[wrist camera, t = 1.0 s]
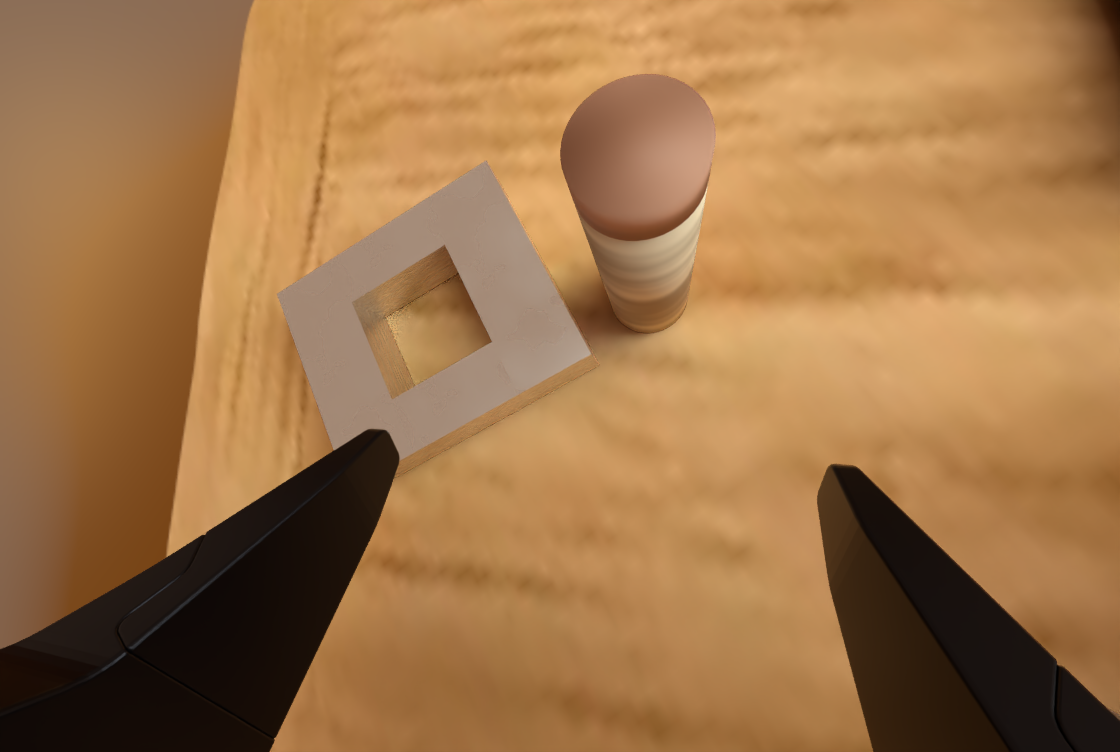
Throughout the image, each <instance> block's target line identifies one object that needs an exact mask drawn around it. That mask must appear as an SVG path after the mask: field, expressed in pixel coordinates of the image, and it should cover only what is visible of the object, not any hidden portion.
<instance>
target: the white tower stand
mask: <svg viewBox="0 0 1120 752" xmlns="http://www.w3.org/2000/svg"><path fill="white" fill-rule="evenodd" d="M1108 710H1109V709H1108ZM1109 711H1110V712H1111V713H1113V714H1114V715H1115V716H1116V717H1117V718H1118V719H1119V720H1120V715H1119V714H1117V713H1115V712H1113V711H1111V710H1109Z"/></svg>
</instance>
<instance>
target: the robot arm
mask: <svg viewBox="0 0 1120 752" xmlns="http://www.w3.org/2000/svg"><path fill="white" fill-rule="evenodd" d="M399 460H400V457H399V452H398V450H397V448H396V446H395V444H394V442H393V440H392V438H391V436H390V434H389V432H388V431H387V430H384V429H372V428H371V429H367V430H365V431H364V432H362V433H361V434H359V435H357V436H356V437H354V438H353V439H351V440H350V441H348V442H347V443H345V444H343V445H342V446H340V447H339V448H337V449H336V450H334V451H333V452H331V453H329V454H328V455H326V456H325V457H323V458H322V459H320V460H318V461H317V462H315V463H314V464H312V465H311V466H309V467H308V468H306V469H304V470H303V471H301V472H300V473H298V474H297V475H295V476H293V477H292V478H290V479H289V480H287V481H286V482H284V483H283V484H281V485H279V486H278V487H276V488H275V489H273V490H272V491H270V492H268V493H267V494H265V495H264V496H262V497H261V498H259V499H258V500H256V501H254V502H253V503H251V504H250V505H248V506H247V507H245V508H243V509H242V510H240V511H239V512H237V513H236V514H234V515H233V516H231V517H229V518H228V519H226V520H225V521H223V522H222V523H220V524H219V525H217V526H215V527H214V528H212V529H211V530H209V531H208V532H207V533H206V534H205V535H201V536H200V537H198V538H197V539H195V540H193V541H192V542H190V543H189V544H187V545H186V546H184V547H183V548H181V549H179V550H178V551H176V552H175V553H173V554H171V555H170V556H168V557H166V558H165V559H163V560H162V561H160V562H158V563H157V564H155V565H154V566H152V567H150V568H149V569H147V570H145V571H143V572H142V573H140V574H138V575H137V576H135V577H133V578H132V579H130V580H128V581H126V582H125V583H123V584H121V585H120V586H118V587H116V588H114V589H112V590H111V591H109V592H107V593H105V594H104V595H102V596H100V597H98V598H97V599H95V600H93V601H92V602H90V603H88V604H86V605H84V606H83V607H81V608H79V609H78V610H76V611H74V612H72V613H71V614H69V615H67V616H65V617H64V618H62V619H60V620H58V621H57V622H55V623H53V624H51V625H50V626H48V627H46V628H44V629H43V630H41V631H39V632H37V633H35V634H33V635H32V636H30V637H28V638H25V639H23V640H21V641H19V642H17V643H15V644H12V645H10V646H7V647H5V648H2V649H0V752H270V749H271V747H272V745H273V743H274V741H275V739H274V738H276V736H277V734H278V732H279V730H280V728H281V726H282V724H283V722H284V719H285V717H286V715H287V713H288V711H289V709H290V707H291V705H292V703H293V701H294V698H295V696H296V694H297V692H298V690H299V688H300V686H301V684H302V682H303V680H304V677H305V675H306V673H307V671H308V669H309V667H310V665H311V663H312V661H313V659H314V656H315V654H316V652H317V650H318V648H319V646H320V644H321V642H322V640H323V638H324V635H325V633H326V631H327V629H328V627H329V625H330V623H331V621H332V619H333V617H334V614H335V612H336V610H337V608H338V606H339V604H340V602H341V600H342V598H343V596H344V593H345V591H346V589H347V587H348V585H349V583H350V581H351V579H352V577H353V575H354V572H355V570H356V568H357V566H358V564H359V562H360V560H361V558H362V556H363V554H364V551H365V549H366V547H367V545H368V543H369V541H370V539H371V537H372V535H373V532H374V530H375V528H376V526H377V523H378V521H379V518H380V516H381V513H382V510H383V507H384V504H385V502H386V499H387V496H388V493H389V491H390V488H391V485H392V482H393V479H394V477H395V474H396V471H397V468H398V465H399ZM817 504H818V512H819V519H820V526H821V533H822V540H823V547H824V554H825V561H826V568H827V574H828V581H829V586H830V590H831V594H832V599H833V602H834V606H835V610H836V614H837V617H838V621H839V625H840V628H841V632H842V636H843V640H844V643H845V647H846V651H847V655H848V658H849V662H850V666H851V670H852V673H853V677H854V681H855V684H856V688H857V692H858V696H859V699H860V703H861V707H862V711H863V714H864V718H865V722H866V726H867V729H868V733H869V737H870V740H871V744H872V748H873V752H1120V720H1119V719H1118V718H1117V717H1116V716H1115V715H1114V714H1113V713H1111V712H1110V711H1109V710H1108V709H1107V708H1106V707H1105V706H1104V705H1103V704H1102V703H1101V702H1100V701H1099V700H1098V699H1097V698H1096V697H1094V696H1093V695H1092V694H1091V693H1090V692H1089V691H1088V690H1087V689H1086V688H1085V687H1084V686H1083V685H1082V684H1081V683H1080V682H1079V681H1078V680H1077V679H1076V678H1075V677H1074V676H1073V675H1072V674H1071V673H1070V672H1069V671H1068V670H1067V669H1066V668H1064V667H1063V666H1061V665H1057V661H1056V659H1055V658H1054V657H1053V656H1052V655H1051V654H1050V653H1049V652H1048V651H1047V650H1046V649H1045V648H1044V647H1043V646H1042V645H1041V644H1039V643H1038V642H1037V641H1036V640H1035V639H1034V638H1033V637H1032V636H1031V635H1030V634H1029V633H1028V632H1027V631H1026V630H1025V629H1024V628H1023V627H1022V626H1021V625H1020V624H1019V623H1018V622H1017V621H1016V620H1015V619H1014V618H1013V617H1012V616H1011V615H1010V614H1009V613H1008V612H1007V611H1005V610H1004V609H1003V608H1002V607H1001V606H1000V605H999V604H998V603H997V602H996V601H995V600H994V599H993V598H992V597H991V596H990V595H989V594H988V593H987V592H986V591H985V590H984V589H983V588H982V587H981V586H980V585H979V584H978V583H977V582H976V581H975V580H974V579H973V578H971V577H970V576H969V575H968V574H967V573H966V572H965V571H964V570H963V569H962V568H961V567H960V566H959V565H958V564H957V563H956V562H955V561H954V560H953V559H952V558H951V557H950V556H949V555H948V554H947V553H946V552H945V551H944V550H943V549H942V548H941V547H940V546H939V545H937V544H936V543H935V542H934V541H933V540H932V539H931V538H930V537H929V536H928V535H927V534H926V533H925V532H924V531H923V530H922V529H921V528H920V527H919V526H918V525H917V524H916V523H915V522H914V521H913V520H912V519H911V518H910V517H909V516H908V515H907V514H906V513H904V512H903V511H902V510H901V509H900V508H899V507H898V506H897V505H896V504H895V503H894V502H893V501H892V500H891V499H890V498H889V497H888V496H887V495H886V494H885V493H884V492H883V491H882V490H881V489H880V488H879V487H878V486H877V485H876V484H875V483H874V482H873V481H872V480H870V479H869V478H868V477H867V476H866V475H865V474H864V473H863V472H862V471H861V470H860V469H859V468H857V467H856V466H853V465H841V464H831V465H830V466H829V467H828V468H827V470H826V473H825V475H824V478H823V481H822V483H821V486H820V488H819V491H818V496H817Z"/></svg>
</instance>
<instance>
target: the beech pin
mask: <svg viewBox="0 0 1120 752" xmlns="http://www.w3.org/2000/svg"><path fill="white" fill-rule="evenodd" d="M715 138H716V133H715V124H714V120H713V116H712V114H711V111H710V109H709V107H708V105H707V104H706V102H705V100H704V99H703V98H702V97H701V96H700V95H699V93H697V92H696V91H695V90H694V89H693V88H692V87H690V86H688V85H687V84H685V83H684V82H681V81H679V80H677V79H674V78H671V77H668V76H663V75H657V74H641V75H633V76H628V77H624V78H621V79H618V80H615V81H613V82H611V83H608V84H607V85H605V86H603V87H601V88H600V89H598V90H597V91H595V92H594V93H592V94H591V95H590V96H589V97H588V98H587V99H586V100H584V101H583V102H582V104H581V105H580V106H579V107H578V108H577V109H576V111H575V112H574V114H573V115H572V117H571V118H570V120H569V122H568V124H567V126H566V129H565V131H564V134H563V138H562V142H561V150H560V156H561V165H562V170H563V173H564V176H565V179H566V182H567V184H568V187H569V190H570V193H571V196H572V198H573V201H574V204H575V207H576V209H577V212H578V215H579V218H580V220H581V223H582V226H583V229H584V231H585V234H586V237H587V240H588V242H589V245H590V248H591V251H592V254H593V256H594V259H595V262H596V265H597V267H598V270H599V273H600V276H601V278H602V281H603V284H604V287H605V289H606V292H607V295H608V298H609V301H610V303H611V306H612V309H613V311H614V313H615V315H616V317H617V318H618V320H619V321H620V322H621V323H622V324H623V325H625V326H626V327H628V328H629V329H631V330H634V331H637V332H642V333H654V332H658V331H661V330H664V329H666V328H668V327H670V326H671V325H673V324H674V323H675V322H676V321H677V320H678V319H679V318H680V316H681V315H682V313H683V312H684V310H685V307H686V304H687V299H688V293H689V288H690V282H691V277H692V271H693V265H694V260H695V254H696V249H697V243H698V237H699V232H700V226H701V221H702V215H703V209H704V204H705V198H706V193H707V187H708V181H709V176H710V170H711V165H712V159H713V153H714V148H715Z"/></svg>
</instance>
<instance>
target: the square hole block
mask: <svg viewBox="0 0 1120 752" xmlns="http://www.w3.org/2000/svg"><path fill="white" fill-rule="evenodd" d="M457 273H459V275H460V277H461V279H462V281H463V283H464V285H465V287H466V289H467V291H468V293H469V295H470V298H471V300H472V302H473V304H474V306H475V308H476V310H477V312H478V314H479V316H480V318H481V320H482V322H483V324H484V326H485V328H486V330H487V333H488V335H489V337H490V339H491V341H492V342H491V343H489V344H487V345H485V346H484V347H482V348H480V349H478V350H477V351H475V352H473V353H472V354H470V355H468V356H466V357H465V358H463V359H461V360H459V361H458V362H456V363H454V364H453V365H451V366H449V367H447V368H446V369H444V370H442V371H440V372H439V373H437V374H435V375H434V376H432V377H430V378H428V379H427V380H425V381H423V382H421V383H420V384H418V385H416V386H414V384H413V382H412V379H411V377H410V375H409V372H408V370H407V368H406V365H405V363H404V361H403V358H402V356H401V354H400V351H399V349H398V347H397V344H396V342H395V340H394V337H393V335H392V332H391V330H390V328H389V325H388V323H387V321H386V318H385V317H387V316H388V315H390V314H392V313H393V312H395V311H397V310H398V309H400V308H401V307H403V306H405V305H406V304H408V303H410V302H411V301H413V300H415V299H416V298H418V297H420V296H421V295H423V294H425V293H426V292H428V291H429V290H431V289H433V288H434V287H436V286H438V285H439V284H441V283H443V282H444V281H446V280H448V279H449V278H451V277H453V276H454V275H456V274H457ZM277 296H278V298H279V301H280V304H281V307H282V309H283V312H284V315H285V317H286V320H287V323H288V326H289V328H290V331H291V334H292V337H293V339H294V342H295V345H296V348H297V350H298V353H299V356H300V359H301V361H302V364H303V367H304V370H305V372H306V375H307V378H308V381H309V383H310V386H311V389H312V392H313V394H314V397H315V400H316V403H317V405H318V408H319V411H320V414H321V416H322V419H323V422H324V425H325V427H326V430H327V433H328V436H329V438H330V441H331V444H332V447H333V449H334V450H336V449H337V448H339V447H340V446H342V445H343V444H345V443H347V442H348V441H350V440H351V439H353V438H354V437H356V436H357V435H359V434H361V433H362V432H364V431H365V430H367V429H371V428H372V429H384V430H387V431H388V432H389V434H390V436H391V438H392V440H393V442H394V444H395V446H396V448H397V450H398V452H399V457H400V460H399V465H398V468H397V471H396V474H395V477H394V478H396V477H398V476H400V475H401V474H403V473H405V472H407V471H409V470H410V469H412V468H414V467H416V466H418V465H419V464H421V463H423V462H425V461H427V460H429V459H430V458H432V457H434V456H436V455H438V454H439V453H441V452H443V451H445V450H447V449H448V448H450V447H452V446H454V445H456V444H458V443H459V442H461V441H463V440H465V439H467V438H468V437H470V436H472V435H474V434H476V433H478V432H479V431H481V430H483V429H485V428H487V427H488V426H490V425H492V424H494V423H496V422H497V421H499V420H501V419H503V418H505V417H507V416H508V415H510V414H512V413H514V412H516V411H517V410H519V409H521V408H523V407H525V406H526V405H528V404H530V403H532V402H534V401H536V400H537V399H539V398H541V397H543V396H545V395H546V394H548V393H550V392H552V391H554V390H556V389H557V388H559V387H561V386H563V385H565V384H566V383H568V382H570V381H572V380H574V379H575V378H577V377H579V376H581V375H583V374H585V373H586V372H588V371H590V370H592V369H594V368H595V367H597V366H599V365H600V364H599V363H598V361H597V359H596V357H595V355H594V353H593V352H592V350H591V348H590V346H589V344H588V342H587V341H586V339H585V337H584V335H583V333H582V331H581V330H580V328H579V326H578V324H577V322H576V320H575V318H574V317H573V315H572V313H571V311H570V309H569V307H568V306H567V304H566V302H565V300H564V298H563V296H562V295H561V293H560V291H559V289H558V287H557V285H556V284H555V282H554V280H553V278H552V276H551V274H550V273H549V271H548V269H547V267H546V265H545V263H544V262H543V260H542V258H541V256H540V254H539V252H538V250H537V249H536V247H535V245H534V243H533V241H532V239H531V238H530V236H529V234H528V232H527V230H526V228H525V227H524V225H523V223H522V221H521V219H520V217H519V216H518V214H517V212H516V210H515V208H514V206H513V205H512V203H511V201H510V199H509V197H508V195H507V194H506V192H505V190H504V188H503V187H502V185H501V184H500V182H499V180H498V179H497V177H496V175H495V174H494V172H493V171H492V169H491V167H490V166H489V164H488V162H487V161H485V162H483V163H481V164H480V165H478V166H477V167H475V168H474V169H472V170H470V171H469V172H467V173H466V174H464V175H463V176H461V177H459V178H458V179H456V180H455V181H453V182H452V183H450V184H449V185H447V186H445V187H444V188H442V189H441V190H439V191H438V192H436V193H434V194H433V195H431V196H430V197H428V198H427V199H425V200H423V201H422V202H420V203H419V204H417V205H416V206H414V207H412V208H411V209H409V210H408V211H406V212H405V213H403V214H401V215H400V216H398V217H397V218H395V219H394V220H392V221H391V222H389V223H387V224H386V225H384V226H383V227H381V228H380V229H378V230H376V231H375V232H373V233H372V234H370V235H369V236H367V237H365V238H364V239H362V240H361V241H359V242H358V243H356V244H354V245H353V246H351V247H350V248H348V249H347V250H345V251H343V252H342V253H340V254H339V255H337V256H336V257H334V258H333V259H331V260H329V261H328V262H326V263H325V264H323V265H322V266H320V267H318V268H317V269H315V270H314V271H312V272H311V273H309V274H307V275H306V276H304V277H303V278H301V279H300V280H298V281H296V282H295V283H293V284H292V285H290V286H289V287H287V288H286V289H284V290H282V291H281V292H279V293H278V294H277Z"/></svg>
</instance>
